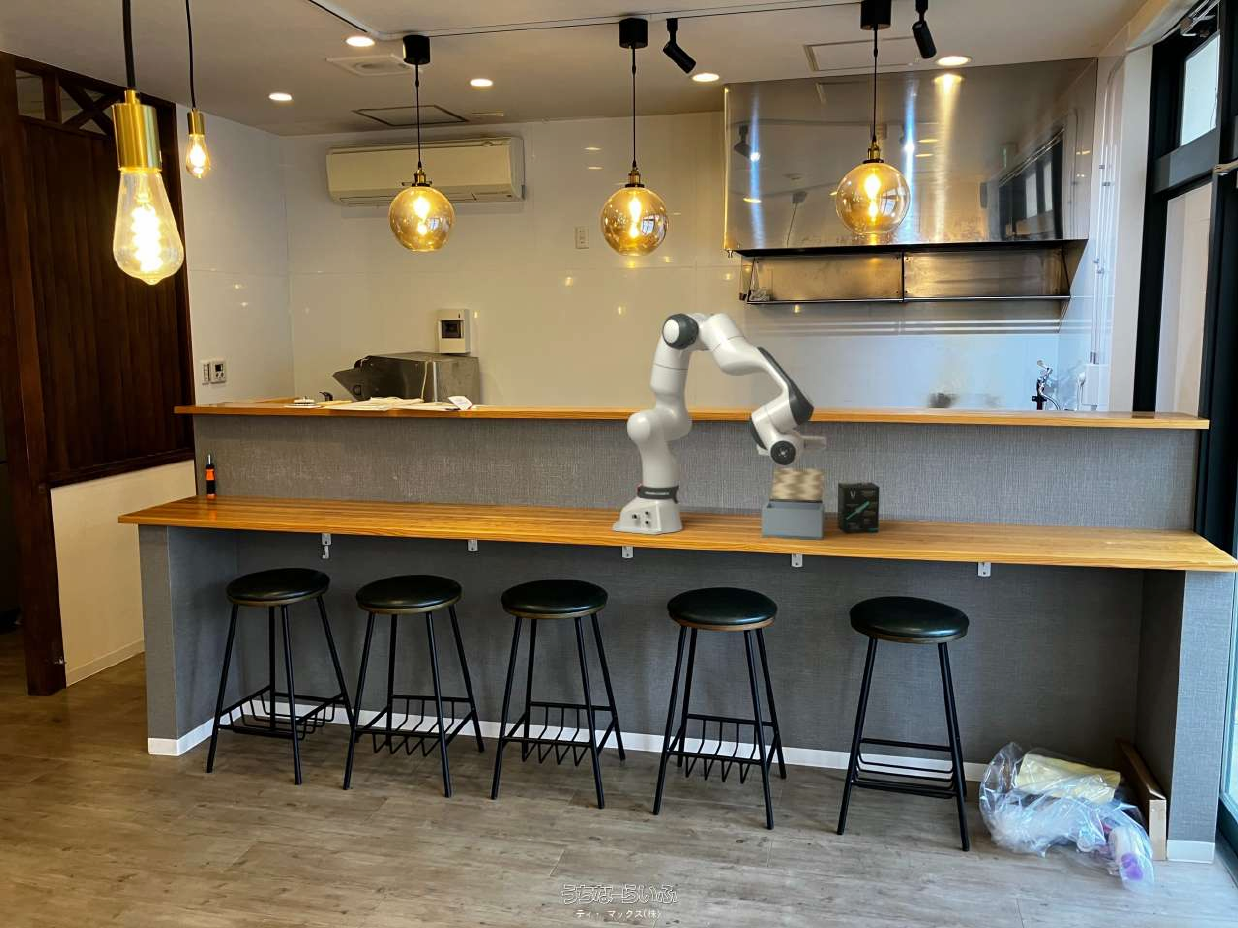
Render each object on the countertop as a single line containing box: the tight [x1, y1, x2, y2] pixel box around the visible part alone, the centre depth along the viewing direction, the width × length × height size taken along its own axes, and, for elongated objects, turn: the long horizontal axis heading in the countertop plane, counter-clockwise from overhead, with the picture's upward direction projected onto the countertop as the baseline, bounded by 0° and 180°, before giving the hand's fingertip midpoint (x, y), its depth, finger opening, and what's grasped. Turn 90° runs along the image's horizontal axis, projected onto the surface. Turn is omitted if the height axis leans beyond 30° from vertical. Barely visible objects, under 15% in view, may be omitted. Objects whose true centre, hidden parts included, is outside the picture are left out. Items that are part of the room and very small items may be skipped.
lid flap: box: [768, 467, 826, 504], centre depth 307 cm, size 17×1×17 cm
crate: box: [761, 500, 826, 541], centre depth 295 cm, size 18×12×9 cm, turn 74°
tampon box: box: [837, 481, 880, 534], centre depth 300 cm, size 11×9×15 cm
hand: (793, 439), depth 286 cm, fingers closed
